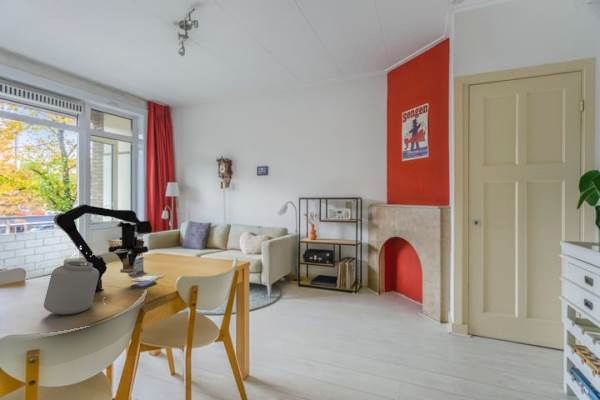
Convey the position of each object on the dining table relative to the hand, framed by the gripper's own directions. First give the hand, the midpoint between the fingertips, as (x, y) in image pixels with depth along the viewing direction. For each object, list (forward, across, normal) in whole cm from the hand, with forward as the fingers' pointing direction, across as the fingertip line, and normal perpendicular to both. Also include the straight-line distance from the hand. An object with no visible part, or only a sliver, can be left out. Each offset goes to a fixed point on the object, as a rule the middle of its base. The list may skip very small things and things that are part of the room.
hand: (128, 266), depth 144 cm
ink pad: (+9, -9, 0) cm, 13 cm away
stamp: (+3, 0, 0) cm, 3 cm away
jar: (+9, -7, +32) cm, 34 cm away
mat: (+9, -2, -11) cm, 14 cm away
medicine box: (+9, +13, -19) cm, 25 cm away
